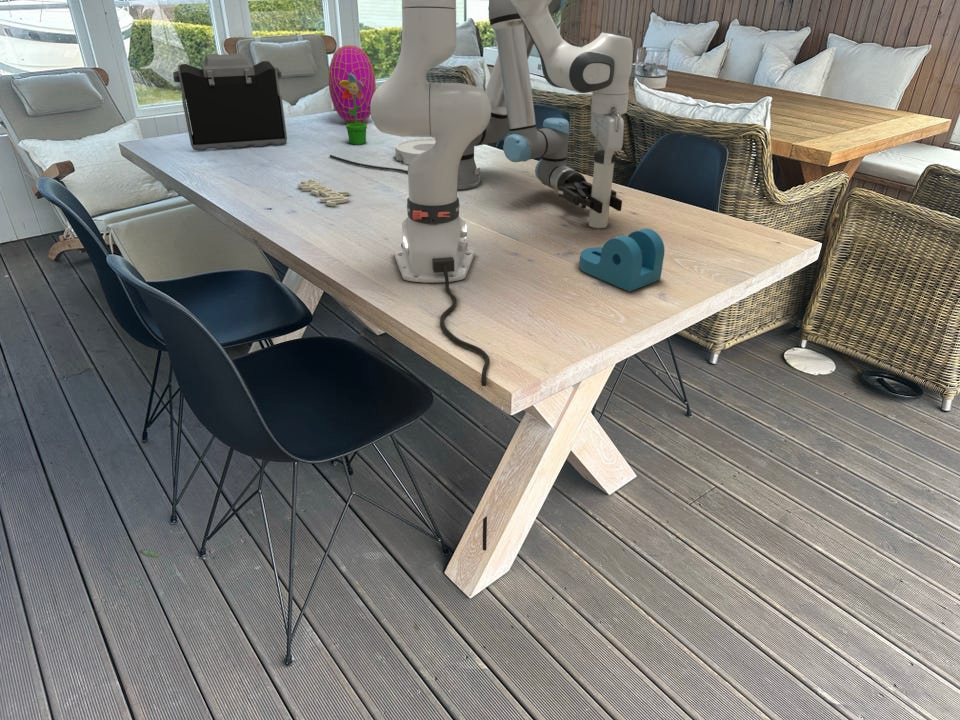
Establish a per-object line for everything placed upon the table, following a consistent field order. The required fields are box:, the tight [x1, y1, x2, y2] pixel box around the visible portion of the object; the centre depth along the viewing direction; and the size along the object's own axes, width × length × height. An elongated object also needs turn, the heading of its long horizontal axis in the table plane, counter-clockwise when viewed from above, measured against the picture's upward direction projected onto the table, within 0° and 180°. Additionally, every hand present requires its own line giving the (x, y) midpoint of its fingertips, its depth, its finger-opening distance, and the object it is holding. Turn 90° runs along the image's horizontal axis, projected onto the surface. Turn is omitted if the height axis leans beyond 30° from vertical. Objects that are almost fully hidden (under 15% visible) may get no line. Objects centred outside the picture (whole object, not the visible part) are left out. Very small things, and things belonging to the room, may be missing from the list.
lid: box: [593, 150, 617, 163], centre depth 176 cm, size 6×6×2 cm
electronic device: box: [172, 52, 288, 152], centre depth 253 cm, size 37×22×30 cm, turn 111°
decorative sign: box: [297, 178, 350, 207], centre depth 206 cm, size 26×1×10 cm
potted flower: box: [339, 73, 368, 145], centre depth 255 cm, size 9×8×25 cm
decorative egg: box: [328, 44, 377, 124], centre depth 286 cm, size 19×19×30 cm
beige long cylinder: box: [587, 161, 615, 229], centre depth 180 cm, size 5×5×19 cm
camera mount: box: [578, 228, 665, 292], centre depth 154 cm, size 18×10×10 cm, turn 39°
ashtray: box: [394, 138, 436, 166], centre depth 243 cm, size 23×23×4 cm
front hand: (603, 160), depth 176 cm, fingers closed on lid, 5 cm apart
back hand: (610, 207), depth 177 cm, fingers closed on beige long cylinder, 5 cm apart
